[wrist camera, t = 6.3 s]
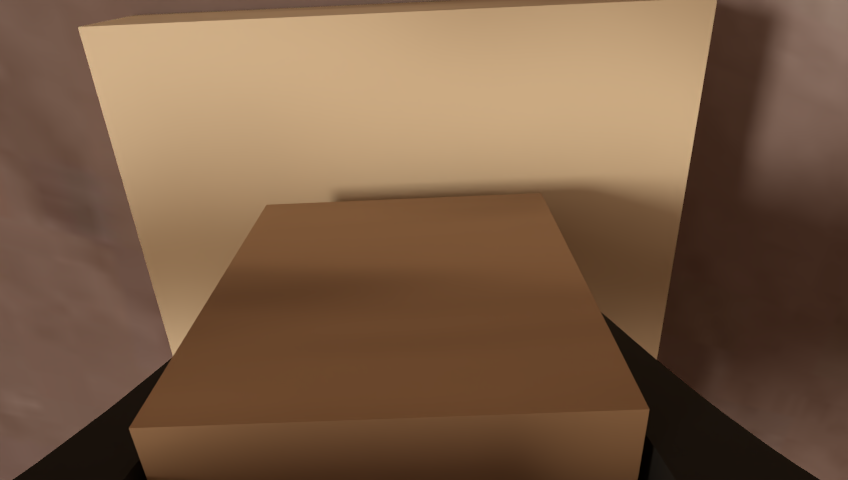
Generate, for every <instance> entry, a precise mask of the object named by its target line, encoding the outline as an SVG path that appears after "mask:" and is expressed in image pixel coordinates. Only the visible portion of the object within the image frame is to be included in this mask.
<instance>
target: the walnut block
mask: <svg viewBox="0 0 848 480" xmlns="http://www.w3.org/2000/svg"><path fill="white" fill-rule="evenodd" d="M649 410H650V409H649V407H648V405H647V403H646V401H645V399H644V397H643V395H642V393H641V391H640V389H639V387H638V385H637V383H636V381H635V379H634V377H633V375H632V373H631V371H630V369H629V367H628V365H627V363H626V361H625V359H624V357H623V355H622V353H621V351H620V349H619V347H618V345H617V343H616V341H615V339H614V337H613V335H612V333H611V331H610V329H609V327H608V325H607V324H606V322H605V320H604V318H603V316H602V314H601V312H600V310H599V308H598V306H597V304H596V302H595V300H594V298H593V296H592V294H591V292H590V290H589V288H588V286H587V284H586V282H585V280H584V278H583V276H582V274H581V272H580V270H579V268H578V266H577V264H576V262H575V260H574V258H573V256H572V254H571V252H570V250H569V248H568V246H567V244H566V242H565V240H564V238H563V236H562V234H561V232H560V230H559V228H558V226H557V224H556V222H555V220H554V218H553V216H552V214H551V212H550V210H549V208H548V206H547V204H546V202H545V200H544V198H543V196H542V194H541V193H532V194H509V195H485V196H461V197H438V198H414V199H390V200H366V201H343V202H319V203H295V204H271V205H266V206H265V208H264V210H263V211H262V213H261V214H260V216H259V218H258V219H257V221H256V223H255V224H254V226H253V227H252V229H251V231H250V232H249V234H248V236H247V237H246V239H245V240H244V242H243V244H242V245H241V247H240V249H239V250H238V252H237V253H236V255H235V257H234V258H233V260H232V261H231V263H230V265H229V266H228V268H227V270H226V271H225V273H224V274H223V276H222V278H221V279H220V281H219V283H218V284H217V286H216V287H215V289H214V291H213V292H212V294H211V296H210V297H209V299H208V300H207V302H206V304H205V305H204V307H203V309H202V310H201V312H200V313H199V315H198V317H197V318H196V320H195V322H194V323H193V325H192V326H191V328H190V330H189V331H188V333H187V335H186V336H185V338H184V339H183V341H182V343H181V344H180V346H179V348H178V349H177V351H176V352H175V354H174V356H173V357H172V359H171V360H170V362H169V364H168V365H167V367H166V369H165V370H164V372H163V373H162V375H161V377H160V378H159V380H158V382H157V383H156V385H155V386H154V388H153V390H152V391H151V393H150V395H149V396H148V398H147V399H146V401H145V403H144V404H143V406H142V408H141V409H140V411H139V412H138V414H137V416H136V417H135V419H134V421H133V422H132V424H131V425H130V427H129V430H130V433H131V436H132V439H133V442H134V444H135V447H136V450H137V453H138V456H139V458H140V461H141V464H142V467H143V470H144V472H145V475H146V478H147V480H638V475H639V469H640V463H641V457H642V451H643V445H644V439H645V434H646V428H647V422H648V416H649Z"/></svg>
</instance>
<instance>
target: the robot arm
mask: <svg viewBox="0 0 848 480" xmlns="http://www.w3.org/2000/svg"><path fill="white" fill-rule="evenodd" d="M601 314H602V316H603V318H604V320H605V322H606V324H607V325H608V327H609V329H610V331H611V333H612V335H613V337H614V339H615V341H616V343H617V345H618V347H619V349H620V351H621V353H622V355H623V357H624V359H625V361H626V363H627V365H628V367H629V369H630V371H631V373H632V375H633V377H634V379H635V381H636V383H637V385H638V387H639V389H640V391H641V393H642V395H643V397H644V399H645V401H646V403H647V405H648V407H649V409H650V410H649V416H648V422H647V428H646V434H645V439H644V445H643V451H642V457H641V463H640V469H639V475H638V480H819V479H818V478H816V477H815V476H813V475H812V474H810V473H808V472H807V471H805V470H804V469H802V468H801V467H799V466H797V465H796V464H794V463H793V462H791V461H790V460H789V459H787V458H786V457H784V456H783V455H781V454H780V453H778V452H777V451H775V450H774V449H772V448H771V447H769V446H768V445H767V444H765V443H764V442H762V441H761V440H760V439H758V438H757V437H756V436H754V435H753V434H751V433H750V432H749V431H747V430H746V429H745V428H743V427H742V426H740V425H739V424H738V423H736V422H735V421H734V420H732V419H731V418H729V417H728V416H727V415H725V414H724V413H723V412H721V411H720V410H719V409H717V408H716V407H715V406H713V405H712V404H711V403H710V402H708V401H707V400H706V399H704V398H703V397H702V396H700V395H699V394H698V393H697V392H695V391H694V390H693V389H692V388H690V387H689V386H688V385H687V384H685V383H684V382H683V381H682V380H680V379H679V378H678V377H677V376H676V375H674V374H673V373H672V372H671V371H669V370H668V369H667V368H666V367H665V366H663V365H662V364H661V363H660V362H659V361H658V360H656V359H655V358H654V357H653V356H652V355H650V354H649V353H648V352H647V351H646V350H645V349H643V348H642V347H641V346H640V345H639V344H638V343H636V342H635V341H634V340H633V339H632V338H631V337H629V336H628V335H627V334H626V333H625V332H624V331H623V330H621V329H620V328H619V327H618V326H617V325H616V324H615V323H613V322H612V321H611V320H610V319H609V318H608V317H606V316H605V315H604V314H603V313H602V312H601ZM171 359H172V358H171ZM171 359H170V360H171ZM170 360H169V361H168V362H166V363H165V364H164V365H163V366H162V367H160V368H159V369H158V370H157V371H155V372H154V373H153V374H152V375H150V376H149V377H148V378H147V379H146V380H144V381H143V382H142V383H141V384H139V385H138V386H137V387H136V388H134V389H133V390H132V391H131V392H130V393H128V394H127V395H126V396H125V397H123V398H122V399H121V400H120V401H118V402H117V403H116V404H115V405H113V406H112V407H111V408H110V409H108V410H107V411H106V412H104V413H103V414H102V415H100V416H99V417H98V418H96V419H95V420H94V421H92V422H91V423H90V424H88V425H87V426H86V427H84V428H83V429H82V430H80V431H79V432H78V433H76V434H75V435H74V436H72V437H71V438H70V439H68V440H67V441H66V442H64V443H63V444H62V445H60V446H59V447H58V448H56V449H55V450H54V451H52V452H51V453H50V454H48V455H47V456H46V457H44V458H43V459H42V460H40V461H39V462H38V463H36V464H35V465H33V466H32V467H30V468H29V469H28V470H26V471H25V472H23V473H22V474H20V475H19V476H18V477H16V478H15V479H13V480H147V478H146V475H145V472H144V470H143V467H142V464H141V461H140V458H139V456H138V453H137V450H136V447H135V444H134V442H133V439H132V436H131V433H130V430H129V427H130V425H131V424H132V422H133V421H134V419H135V417H136V416H137V414H138V412H139V411H140V409H141V408H142V406H143V404H144V403H145V401H146V399H147V398H148V396H149V395H150V393H151V391H152V390H153V388H154V386H155V385H156V383H157V382H158V380H159V378H160V377H161V375H162V373H163V372H164V370H165V369H166V367H167V365H168V364H169V362H170Z"/></svg>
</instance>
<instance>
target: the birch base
mask: <svg viewBox="0 0 848 480" xmlns="http://www.w3.org/2000/svg"><path fill="white" fill-rule="evenodd" d="M716 4H717V0H451V1H429V2H408V3H386V4H364V5H343V6H321V7H299V8H278V9H256V10H234V11H213V12H191V13H169V14H148V15H132V16H128V17H123V18H118V19H113V20H109V21H104V22H99V23H94V24H90V25H85V26H80V27H78V29H79V32H80V36H81V39H82V43H83V46H84V50H85V53H86V57H87V60H88V64H89V67H90V71H91V74H92V77H93V81H94V84H95V88H96V91H97V95H98V98H99V102H100V105H101V109H102V112H103V115H104V119H105V122H106V126H107V129H108V133H109V136H110V140H111V143H112V147H113V150H114V154H115V157H116V160H117V164H118V167H119V171H120V174H121V178H122V181H123V185H124V188H125V192H126V195H127V198H128V202H129V205H130V209H131V212H132V216H133V219H134V223H135V226H136V230H137V233H138V237H139V240H140V243H141V247H142V250H143V254H144V257H145V261H146V264H147V268H148V271H149V275H150V278H151V281H152V285H153V288H154V292H155V295H156V299H157V302H158V306H159V309H160V313H161V316H162V320H163V323H164V326H165V330H166V333H167V337H168V340H169V344H170V347H171V351H172V354H173V356H174V354H175V352H176V351H177V349H178V348H179V346H180V344H181V343H182V341H183V339H184V338H185V336H186V335H187V333H188V331H189V330H190V328H191V326H192V325H193V323H194V322H195V320H196V318H197V317H198V315H199V313H200V312H201V310H202V309H203V307H204V305H205V304H206V302H207V300H208V299H209V297H210V296H211V294H212V292H213V291H214V289H215V287H216V286H217V284H218V283H219V281H220V279H221V278H222V276H223V274H224V273H225V271H226V270H227V268H228V266H229V265H230V263H231V261H232V260H233V258H234V257H235V255H236V253H237V252H238V250H239V249H240V247H241V245H242V244H243V242H244V240H245V239H246V237H247V236H248V234H249V232H250V231H251V229H252V227H253V226H254V224H255V223H256V221H257V219H258V218H259V216H260V214H261V213H262V211H263V210H264V208H265V206H266V205H271V204H295V203H319V202H343V201H366V200H390V199H414V198H438V197H461V196H485V195H509V194H532V193H541V194H542V196H543V198H544V200H545V202H546V204H547V206H548V208H549V210H550V212H551V214H552V216H553V218H554V220H555V222H556V224H557V226H558V228H559V230H560V232H561V234H562V236H563V238H564V240H565V242H566V244H567V246H568V248H569V250H570V252H571V254H572V256H573V258H574V260H575V262H576V264H577V266H578V268H579V270H580V272H581V274H582V276H583V278H584V280H585V282H586V284H587V286H588V288H589V290H590V292H591V294H592V296H593V298H594V300H595V302H596V304H597V306H598V308H599V310H600V312H602V313H603V314H604V315H605V316H606V317H608V318H609V319H610V320H611V321H612V322H613V323H615V324H616V325H617V326H618V327H619V328H620V329H621V330H623V331H624V332H625V333H626V334H627V335H628V336H629V337H631V338H632V339H633V340H634V341H635V342H636V343H638V344H639V345H640V346H641V347H642V348H643V349H645V350H646V351H647V352H648V353H649V354H650V355H652V356H653V357H654V358H655V359H656V360H657V356H658V350H659V344H660V338H661V332H662V326H663V320H664V314H665V308H666V302H667V297H668V291H669V285H670V279H671V273H672V267H673V261H674V255H675V249H676V243H677V237H678V231H679V225H680V219H681V213H682V207H683V201H684V195H685V189H686V183H687V177H688V171H689V165H690V159H691V153H692V147H693V141H694V136H695V130H696V124H697V118H698V112H699V106H700V100H701V94H702V88H703V82H704V76H705V70H706V64H707V58H708V52H709V46H710V40H711V34H712V28H713V22H714V16H715V10H716Z"/></svg>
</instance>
